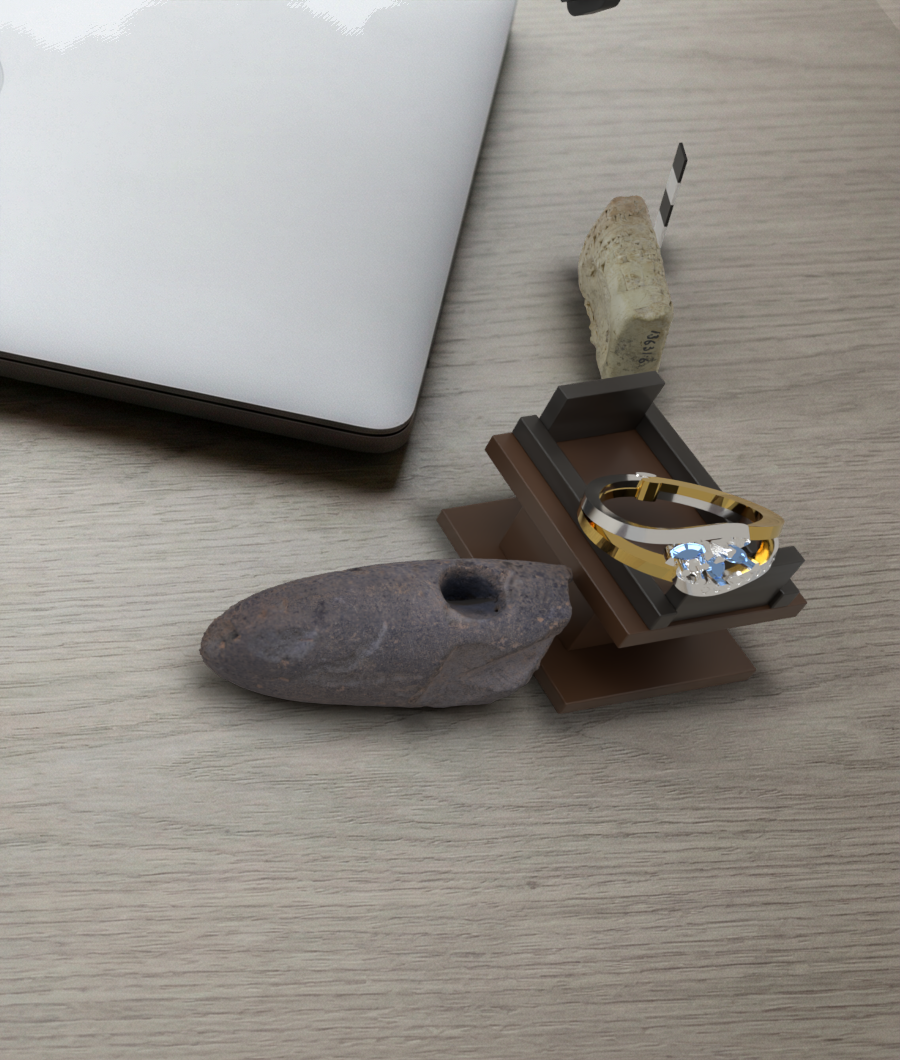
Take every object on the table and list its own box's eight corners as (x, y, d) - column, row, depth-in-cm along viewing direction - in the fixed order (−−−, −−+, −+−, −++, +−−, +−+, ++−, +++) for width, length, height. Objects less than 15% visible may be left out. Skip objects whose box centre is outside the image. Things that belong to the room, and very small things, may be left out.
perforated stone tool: (194, 729, 72) (237, 635, 67) (172, 628, 76) (212, 531, 70) (548, 732, 72) (620, 638, 67) (511, 631, 76) (576, 534, 70)
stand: (609, 493, 81) (699, 359, 74) (746, 682, 74) (860, 555, 67) (433, 522, 80) (508, 389, 72) (556, 717, 73) (651, 591, 66)
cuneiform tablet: (649, 250, 91) (693, 410, 84) (557, 253, 92) (592, 411, 85) (682, 142, 86) (732, 302, 78) (583, 146, 87) (623, 305, 80)
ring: (543, 505, 72) (613, 593, 65) (566, 436, 71) (641, 519, 64) (713, 525, 72) (803, 617, 65) (741, 456, 70) (835, 542, 63)
